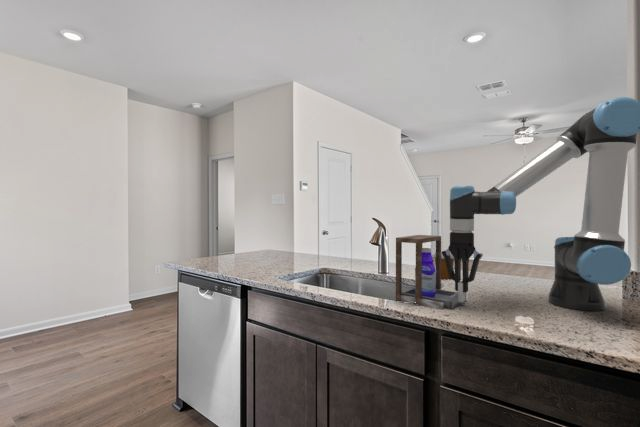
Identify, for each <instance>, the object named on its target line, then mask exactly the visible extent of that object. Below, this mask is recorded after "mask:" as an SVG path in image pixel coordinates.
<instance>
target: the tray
mask: <svg viewBox="0 0 640 427" xmlns="http://www.w3.org/2000/svg"><path fill="white" fill-rule="evenodd" d="M402 295H404V296H410V297H415V298H416V292H415V286H414V287H413V288H410V289H408V290H405V291H402ZM422 299H426V300H431V301H437V302H442V303H444V309H447V310H454V309H455V308H457V307H458V306H460V305H462V304H463V303H466V301H467V292H465V301H464V302H458V291H451V290H445V289H441V290H439V289H436V294H435V296H434V297H425V296H422Z"/></svg>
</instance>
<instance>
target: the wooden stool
mask: <svg viewBox="0 0 640 427" xmlns="http://www.w3.org/2000/svg"><path fill="white" fill-rule="evenodd" d="M432 242H435V252H436V264H435V269H436V270H435V272H436V289H439V290H442V279H441V252H442V235H430V234H429V235H428V234H427V235H426V234H425V235H424V234H415V235H406V236H399V237H395V301H396V302H404V303H408V304H413V303H415V302H416V304H418V305H417V306H423V305H425V306H424V307H428V308H429V307H430V308H433V309H439V310H444V309H445V308H444V303H442V302H437V301H431V300H426V299H422V248H423V244H426V243H432ZM403 243H409V244H415V268H416V298H415V297H410V296H404V295H402V292H403V290H402V287H403V286H402V282H403V281H402V280H403V279H402V277H403V276H402V274H403V273H402V272H403V271H402V270H403V269H402V265H403V263H402V260H403V259H402V256H403V255H402V252H403V251H402V250H403V249H402V247H403V245H402V244H403ZM416 304H415V305H416Z"/></svg>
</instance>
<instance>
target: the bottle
mask: <svg viewBox="0 0 640 427" xmlns="http://www.w3.org/2000/svg"><path fill="white" fill-rule="evenodd" d="M434 262H435V259H434V258H433V256H432V248H430V247H422V296H425V297H434V296H435V294H436V265H434ZM414 287H415V292H416V267H415V268H414Z"/></svg>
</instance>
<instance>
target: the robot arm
mask: <svg viewBox="0 0 640 427" xmlns="http://www.w3.org/2000/svg"><path fill="white" fill-rule="evenodd" d="M639 132H640V101H639V100H637V99H635V98H633V97H627V96H626V97H625V96H621V97H614V98H611V99H609V100H605V101H604V102H602V103H600V104H599V105H598V106H596V107H595V108H593V109H591V110H590V111H588V112H586V113H585V114H583V115H582V116H581V117H579V118H578V119H577V120H576V121H575V122H574V123H573V124H572V125H571V126H570V127H568V129H566V130H565V131H564V132H562V133H561V134H560V135H558V136H557V137H556V141H555V142H554V143H552V144H551V145H549V146H548V147H547V148H545V149H544V150H543V151H541V152H540V153H539V154H536V156H534V157H533V158H531V159H530V160H529V161H527V162H526V163H524V164H523V165H521V167H519V168H517V169H516V170H515V171H513V172H512V173H511V174H509V175H508V176H506V177H505V178H504V179H502V180H501V181H500V182H498V183H496V184H495V185H494V186H492V187H491V188H489V189H488V190H487V191H475V190H476V189H475V187H474V186H473V185H456V186H452V187H451V188H450V194H449V231H450V232H449V245H448V248H447V249H445V250H441V252H442V254H443V256H444V258H445V262H446V266H447V270H448V274H449V278H450V279H449V280H452V281H454V290H455V291H454V292H458V302H463V303H465V302H466V301H465V292H466V293H468V292H469V283H471V282H473V281H475V278H476V275H477V270H478V266H479V263H480V260H481V259H482V258H483V257H484V255H483V253H482V252H481V253H480V252H479V251H477V250H476V247H475V233H474V230H475V215H502V216H504V215H512V214H514V213H515V212H516V207H517V198H516V197H519V195H521V194H523V193H524V192H525V191H527V190H529V189H530V188H531V187H533V186H534V185H535V184H537V183H539V182H540V181H541V180H543V179H544V178H546V177H547V176H549V175H551V173H553V172H555V171H556V170H557V169H558V168H560V167H562V166H563V165H564V164H566V163H567V162H568V163H569V161H571V160H573V159H574V158H575V159H578V158H579V159H580V157H582V156H584V155H585V154H586V153H589V157H588V167H587V174H586V182H585V192H584V202H583V211H582V221H581V229H580V231H579V232H577V233H575V234H574V236H561V237H557V238H555V240H554V246H553V248H554V281H553V284H552V286H551V288H550V291H549V293H548V302H549V303H550V304H553V305H556V306H558V307H562V308H567V309H571V310H578V311H593V312H594V311H595V312H597V311H598V312H599V311H600V312H601V311H604V310H605V309H606V302H605V299H604V296H603V294H602V292H601V289H600V285H606V286H607V285H613V284H617V283H618V282H621V281H623V280H624V279H625V278H626V277H627V276H628V275H629V274H630V272H631V268H632V261H631V258H630V256H629V255H628V253H627V252H626V251H625V245H626V244H625V243H626V240H625V239H624V238H623V237H622V236H621V235H620V233H619V232H620V225H621V214H622V206H623V198H624V190H625V189H624V188H625V179H626V170H627V169H626V168H627V163H628V153H629V152H630V151H631V150H633V149H634V148H636V146H637V138H638V133H639ZM450 253H451V254H452V255H453V257H454V262H453V263H454V264H453V265H452V261H451V257H450ZM472 256H473V261H472V264H471V266H470V264H469V263H470V258H471V257H472ZM461 262H462V263H461ZM461 266H462V267H461ZM469 266H470V268H469ZM469 269H470V272H469ZM461 270H462V274H461ZM461 276H462V278H461ZM464 301H465V302H464Z"/></svg>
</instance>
